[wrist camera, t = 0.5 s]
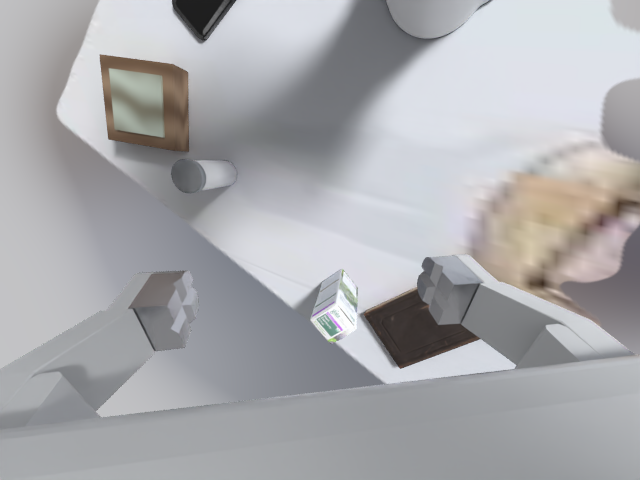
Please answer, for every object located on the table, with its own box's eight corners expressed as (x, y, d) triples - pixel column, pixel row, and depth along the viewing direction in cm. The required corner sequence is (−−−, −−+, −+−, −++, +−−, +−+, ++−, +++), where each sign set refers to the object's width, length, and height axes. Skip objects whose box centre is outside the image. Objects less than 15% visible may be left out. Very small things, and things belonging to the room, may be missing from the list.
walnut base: (120, 62, 48) (97, 53, 44) (188, 72, 47) (170, 63, 43) (126, 140, 53) (106, 139, 48) (188, 151, 51) (173, 150, 47)
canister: (213, 157, 51) (170, 156, 39) (238, 162, 50) (201, 162, 39) (213, 184, 52) (171, 190, 41) (236, 188, 52) (201, 195, 40)
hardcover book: (363, 308, 56) (363, 314, 54) (467, 259, 49) (471, 264, 47) (399, 362, 58) (401, 370, 56) (502, 323, 52) (508, 330, 50)
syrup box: (321, 281, 55) (307, 321, 41) (342, 267, 53) (335, 303, 39) (337, 301, 56) (329, 346, 42) (359, 287, 54) (358, 330, 40)
